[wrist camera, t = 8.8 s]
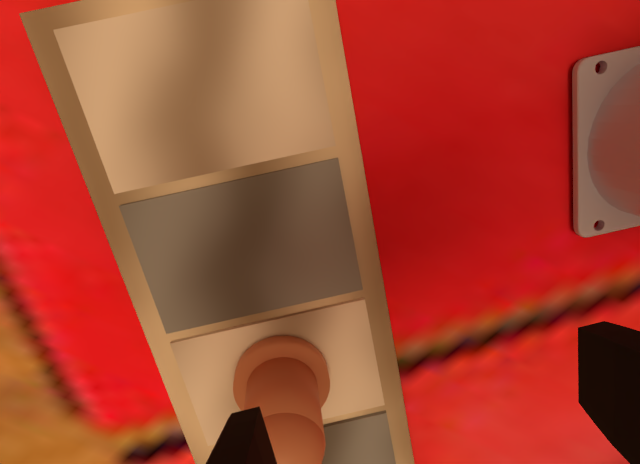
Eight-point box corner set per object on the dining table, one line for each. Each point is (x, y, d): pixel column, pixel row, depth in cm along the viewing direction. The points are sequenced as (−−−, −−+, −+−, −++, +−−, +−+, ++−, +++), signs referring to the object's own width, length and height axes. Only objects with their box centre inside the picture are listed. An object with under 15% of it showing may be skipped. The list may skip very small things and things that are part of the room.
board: (323, -41, 15) (327, -53, 14) (415, 485, 24) (422, 505, 22) (36, 19, 15) (15, 12, 14) (230, 529, 23) (227, 551, 22)
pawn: (316, 325, 18) (332, 413, 13) (336, 401, 20) (358, 509, 14) (222, 349, 18) (200, 448, 13) (249, 424, 20) (239, 541, 14)
